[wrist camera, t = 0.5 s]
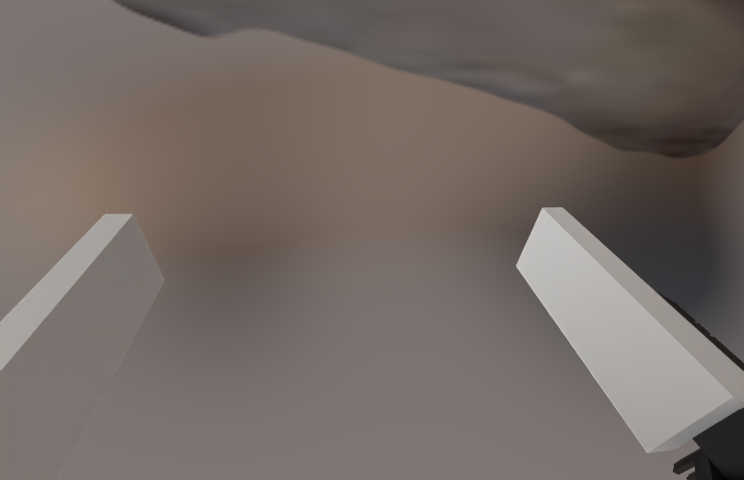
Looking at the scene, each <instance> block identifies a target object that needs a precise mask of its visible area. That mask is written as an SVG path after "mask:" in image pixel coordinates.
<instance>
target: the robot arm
mask: <svg viewBox="0 0 744 480" xmlns="http://www.w3.org/2000/svg"><path fill="white" fill-rule="evenodd" d="M516 267H517V268H518V270H519V271H520V272H521V274H522V275H523V277H524V278H525V280H526V281H527V282H528V284H529V285H530V287H531V288H532V290H533V291H534V292H535V294H536V295H537V297H538V298H539V300H540V301H541V302H542V304H543V305H544V307H545V308H546V309H547V311H548V312H549V314H550V315H551V317H552V318H553V319H554V321H555V322H556V324H557V325H558V327H559V328H560V329H561V331H562V332H563V334H564V335H565V336H566V338H567V339H568V341H569V342H570V344H571V345H572V347H573V348H574V349H575V351H576V352H577V354H578V355H579V357H580V358H581V359H582V361H583V362H584V363H585V365H586V367H587V368H588V369H589V371H590V372H591V374H592V375H593V376H594V378H595V379H596V381H597V382H598V384H599V385H600V386H601V388H602V389H603V391H604V392H605V394H606V395H607V396H608V398H609V399H610V401H611V402H612V404H613V405H614V406H615V408H616V409H617V411H618V412H619V414H620V415H621V416H622V418H623V419H624V421H625V422H626V424H627V425H628V426H629V428H630V429H631V431H632V432H633V434H634V435H635V436H636V438H637V439H638V441H639V442H640V444H641V445H642V446H643V448H644V449H645V451H646V452H647V453H652V452H660V451H667V450H675V449H676V448H678V447H680V446H681V445H683V444H685V443H686V442H688V441H690V440H691V439H693V440H694V441H695V442H696V443H697V444H698V446H699V447H700V449H698V450H696V451H695V452H693V453H691V454H689V455H687V456H686V457H684V458H682V459H680V460H679V461H678V462H676V463H675V464H674V468H673V472H674V473H676V474H678V475H679V474H681V473H683V472H685V471H687V470H689V469H690V468H692V467H694V466H695V471H694V472H693V473H691V474H689V475H688V477H687V480H744V363H743V362H742V361H741V360H740V359H739V358H737V357H736V356H735V355H734V354H733V353H732V352H730V351H729V350H728V349H727V348H726V347H725V346H724V345H723V344H722V343H720V342H719V341H718V340H717V339H716V338H715V337H711V336H710V333H709V332H708V331H707V330H706V329H705V328H704V327H702V326H701V325H700V324H699V323H695V320H694V319H693V318H692V317H691V316H690V315H689V314H688V313H687V312H685V311H684V310H683V309H682V308H681V307H680V306H679V305H678V304H676V303H675V302H673V301H671V300H670V299H668V298H666V297H665V296H663V295H661V294H660V293H658V292H657V291H654V290H653V289H652V288H651V287H650V286H648V284H646V283H645V282H644V281H643V280H642V279H641V278H640V277H639V276H638V275H636V274H635V273H634V272H633V271H632V270H631V269H630V268H629V267H627V265H625V264H624V263H623V262H622V261H621V260H620V259H619V258H618V257H617V256H616V255H614V254H613V253H612V252H611V251H610V250H609V249H608V248H607V247H605V246H604V245H603V244H602V243H601V242H600V241H599V240H598V239H597V238H596V237H595V236H593V235H592V234H591V233H590V232H589V231H588V230H587V229H586V228H585V227H583V226H582V225H581V224H580V223H579V222H578V221H577V220H576V219H575V218H574V217H572V216H571V215H570V214H569V213H568V212H567V211H566V210H565V209H564V208H563V207H559V208H558V207H557V208H542V210H541V212H540V214H539V216H538V219H537V221H536V223H535V225H534V228H533V230H532V232H531V234H530V236H529V239H528V241H527V243H526V245H525V248H524V250H523V252H522V254H521V256H520V258H519V261H518V263H517V265H516ZM164 281H165V280H164V278H163V276H162V274H161V272H160V269H159V267H158V265H157V263H156V261H155V259H154V257H153V255H152V253H151V250H150V248H149V246H148V244H147V242H146V240H145V238H144V235H143V233H142V231H141V229H140V227H139V225H138V223H137V221H136V219H135V217H134V214H105V215H104V216H103V217H102V218H101V219H100V220H99V221H98V222H97V223H96V224H95V225H94V226H93V227H92V228H91V229H90V230H89V231H88V232H87V233H86V234H85V235H84V236H83V237H82V238H81V239H80V241H78V242H77V243H76V244H75V245H74V247H72V248H71V250H70V251H69V252H68V253H67V254H66V255H65V256H64V257H63V258H62V259H61V260H60V261H59V262H58V263H57V264H56V265H55V266H54V267H53V268H52V269H51V270H50V271H49V272H48V273H47V274H46V275H45V276H44V277H43V278H42V279H41V280H40V281H39V283H38V284H37V285H36V286H35V287H34V288H33V289H32V290H31V291H30V292H29V293H28V294H27V295H26V296H25V297H24V298H23V299H22V300H21V301H20V302H19V303H18V304H17V305H16V306H15V307H14V308H13V309H12V310H11V311H10V312H9V314H8V315H6V317H5V318H4V319H3V320H2V321H1V322H0V480H57V478H58V476H59V474H60V472H61V471H62V469H63V467H64V465H65V463H66V461H67V460H68V458H69V456H70V454H71V452H72V450H73V449H74V447H75V445H76V443H77V441H78V439H79V437H80V436H81V434H82V432H83V430H84V428H85V426H86V425H87V423H88V421H89V419H90V417H91V415H92V413H93V412H94V410H95V408H96V406H97V404H98V402H99V401H100V399H101V397H102V395H103V393H104V391H105V390H106V388H107V386H108V384H109V382H110V380H111V378H112V377H113V375H114V373H115V371H116V369H117V367H118V366H119V364H120V362H121V360H122V358H123V356H124V354H125V352H126V351H127V349H128V347H129V345H130V344H131V341H132V340H133V338H134V336H135V334H136V332H137V331H138V329H139V327H140V325H141V323H142V321H143V319H144V318H145V316H146V314H147V312H148V310H149V308H150V307H151V305H152V303H153V301H154V299H155V297H156V296H157V294H158V292H159V290H160V288H161V286H162V284H163V283H164Z"/></svg>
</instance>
